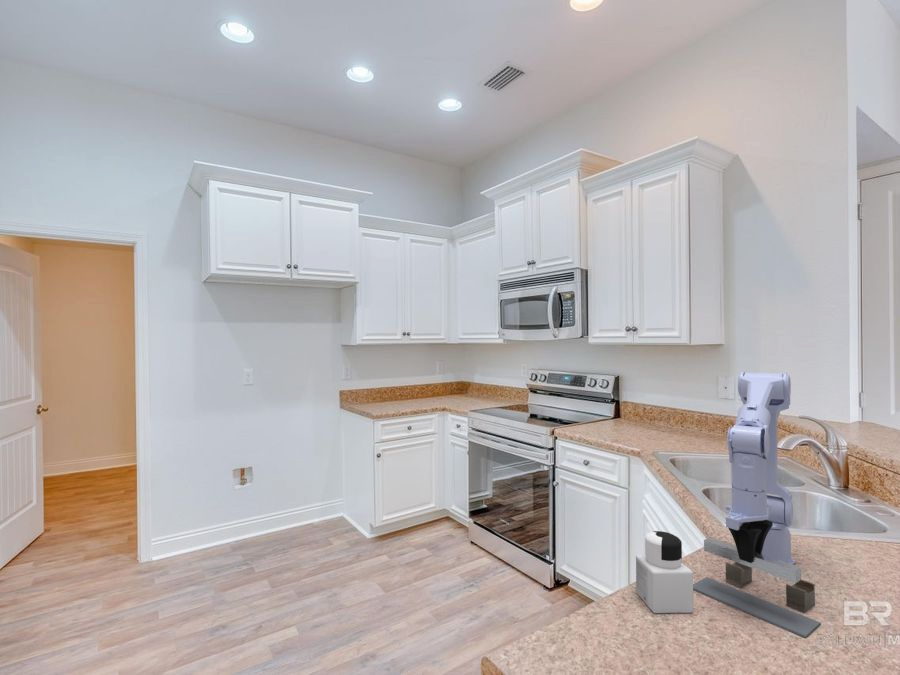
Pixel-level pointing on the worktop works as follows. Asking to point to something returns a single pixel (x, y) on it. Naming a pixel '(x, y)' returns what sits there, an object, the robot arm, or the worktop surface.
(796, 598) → the post
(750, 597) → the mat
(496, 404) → the worktop surface
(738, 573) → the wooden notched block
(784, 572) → the rail
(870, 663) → the worktop surface
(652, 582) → the lidar sensor
